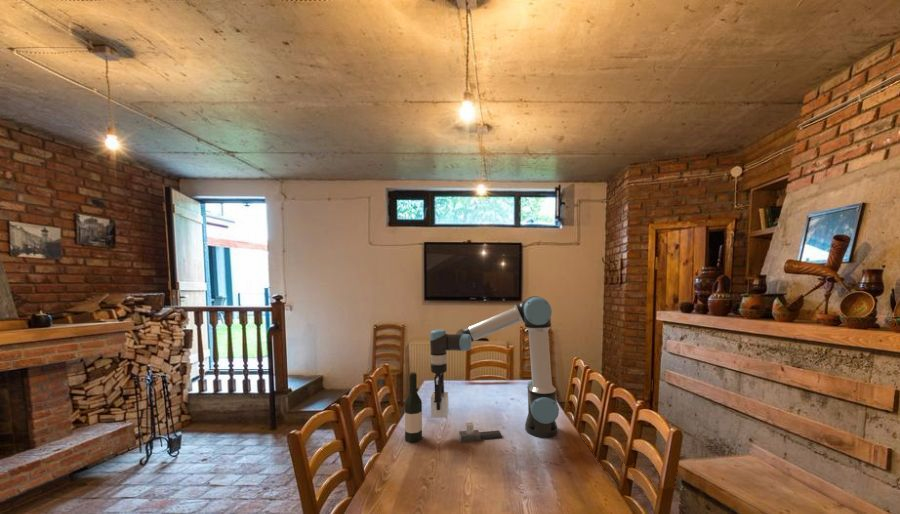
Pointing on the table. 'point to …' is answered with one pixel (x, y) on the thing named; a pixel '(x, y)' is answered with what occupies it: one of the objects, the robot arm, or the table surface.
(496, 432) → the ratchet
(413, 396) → the wine bottle
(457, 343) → the robot arm
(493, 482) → the table surface
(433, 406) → the grey rectangular block
